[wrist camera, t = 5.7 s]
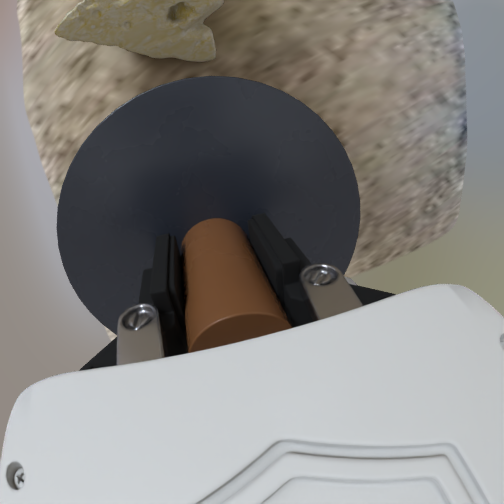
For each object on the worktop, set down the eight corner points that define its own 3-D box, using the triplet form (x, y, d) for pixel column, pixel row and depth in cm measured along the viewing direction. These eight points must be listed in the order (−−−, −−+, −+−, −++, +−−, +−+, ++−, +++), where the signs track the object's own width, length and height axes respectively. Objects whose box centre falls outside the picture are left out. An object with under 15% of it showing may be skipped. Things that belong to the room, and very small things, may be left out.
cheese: (241, 19, 26) (187, -70, 12) (254, 45, 24) (191, -65, 10) (136, 72, 30) (66, 7, 16) (134, 105, 28) (46, 33, 14)
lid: (31, 131, 9) (-80, 174, 3) (344, 71, 11) (468, 70, 5) (126, 361, 16) (123, 462, 10) (341, 311, 18) (397, 392, 12)
